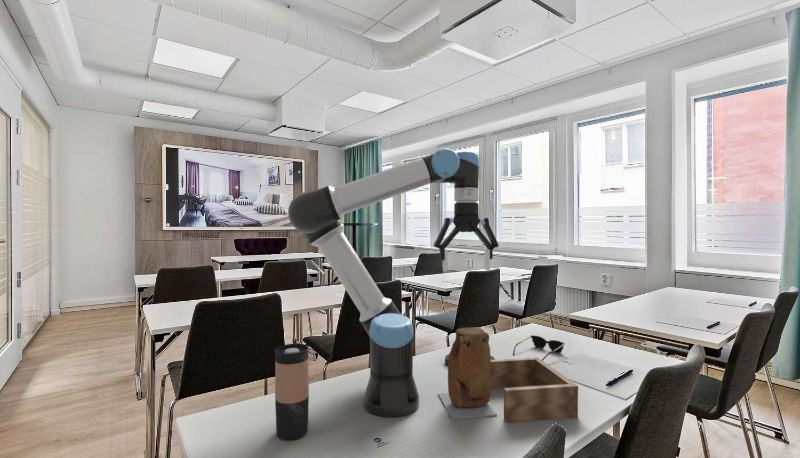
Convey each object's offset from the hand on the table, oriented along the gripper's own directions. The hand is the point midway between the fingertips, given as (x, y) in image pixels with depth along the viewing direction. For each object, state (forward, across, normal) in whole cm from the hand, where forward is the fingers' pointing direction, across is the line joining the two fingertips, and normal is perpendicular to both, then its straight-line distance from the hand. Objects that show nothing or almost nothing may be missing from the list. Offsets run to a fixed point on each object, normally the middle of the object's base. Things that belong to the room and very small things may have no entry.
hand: (466, 270), depth 121 cm
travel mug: (+35, -50, -23) cm, 65 cm away
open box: (+35, +12, -16) cm, 40 cm away
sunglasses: (+35, +34, +19) cm, 53 cm away
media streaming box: (+35, +6, +14) cm, 38 cm away
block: (+34, -4, -16) cm, 38 cm away
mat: (+35, -5, -16) cm, 38 cm away
